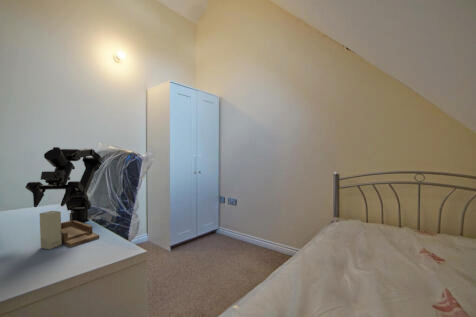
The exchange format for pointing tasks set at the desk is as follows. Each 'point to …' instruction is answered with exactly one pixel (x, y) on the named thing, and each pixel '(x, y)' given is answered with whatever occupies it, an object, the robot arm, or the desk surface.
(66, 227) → the tray
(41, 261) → the desk surface
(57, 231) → the box
